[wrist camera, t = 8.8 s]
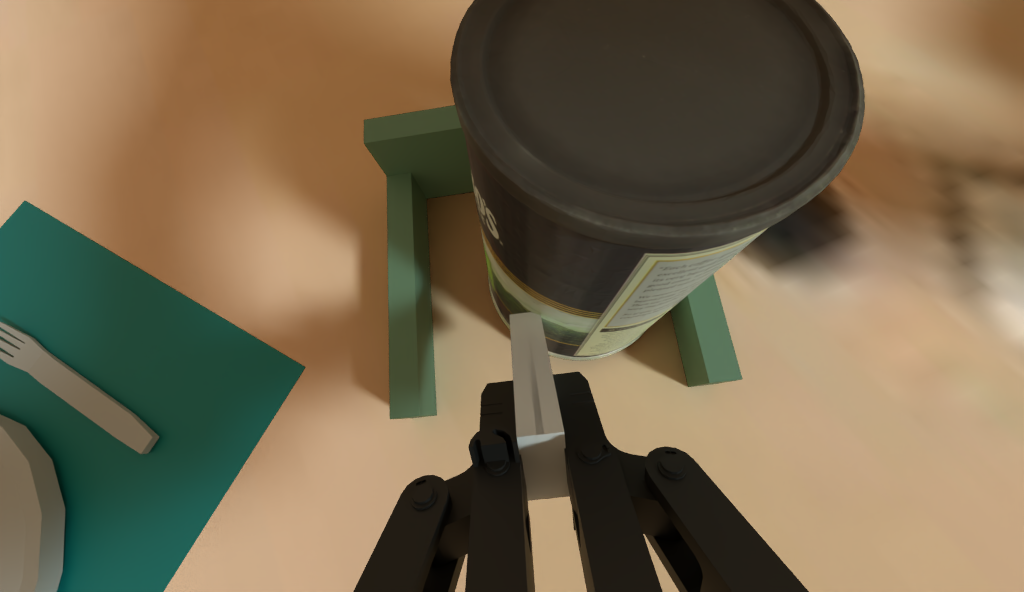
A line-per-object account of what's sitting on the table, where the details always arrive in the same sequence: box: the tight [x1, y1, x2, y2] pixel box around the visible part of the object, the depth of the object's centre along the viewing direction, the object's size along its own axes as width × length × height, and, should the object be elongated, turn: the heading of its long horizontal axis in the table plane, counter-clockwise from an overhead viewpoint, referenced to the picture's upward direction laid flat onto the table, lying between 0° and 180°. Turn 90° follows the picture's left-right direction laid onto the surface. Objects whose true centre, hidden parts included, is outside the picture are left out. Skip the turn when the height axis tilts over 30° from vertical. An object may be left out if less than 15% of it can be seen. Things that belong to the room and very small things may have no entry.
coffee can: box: [450, 0, 865, 361], centre depth 16 cm, size 10×10×14 cm
